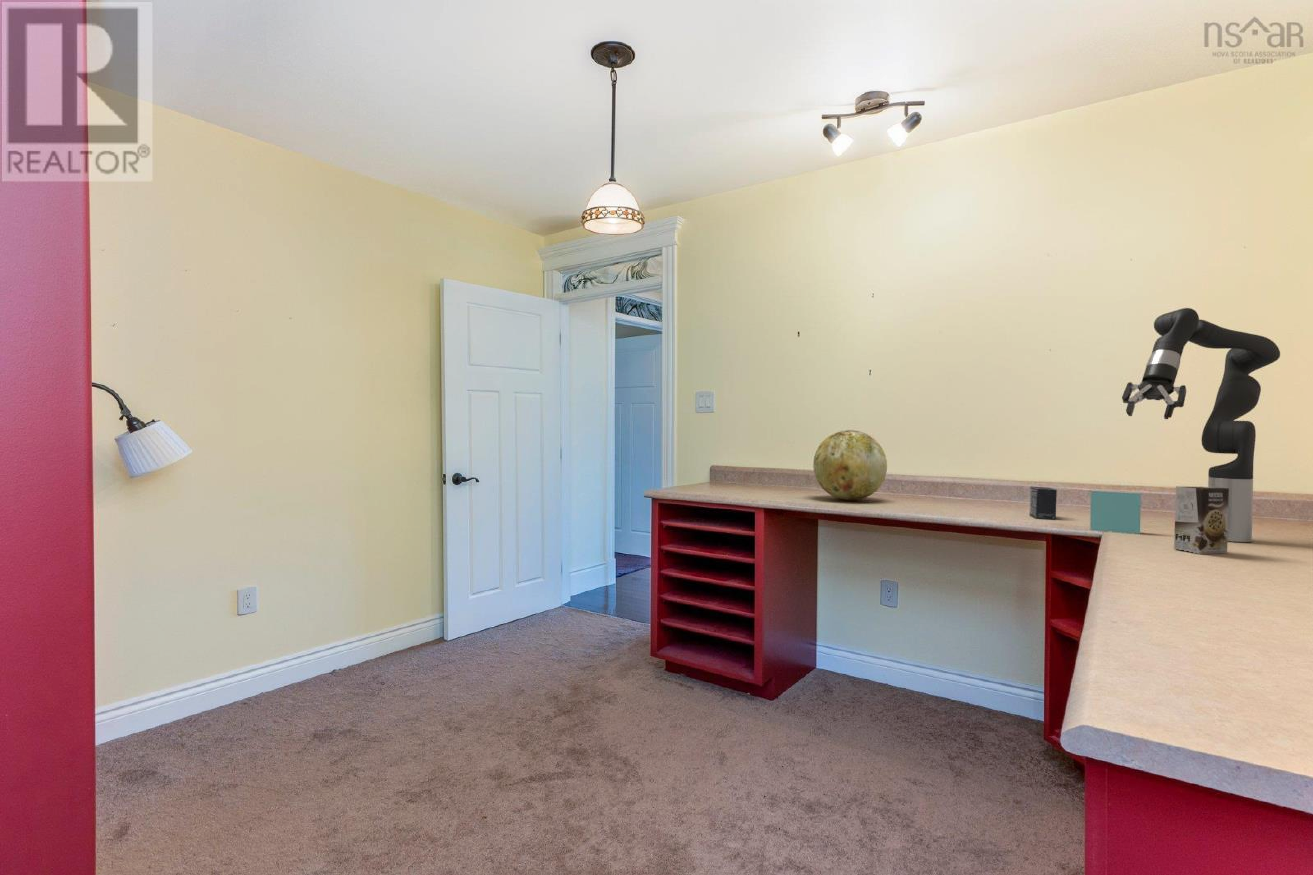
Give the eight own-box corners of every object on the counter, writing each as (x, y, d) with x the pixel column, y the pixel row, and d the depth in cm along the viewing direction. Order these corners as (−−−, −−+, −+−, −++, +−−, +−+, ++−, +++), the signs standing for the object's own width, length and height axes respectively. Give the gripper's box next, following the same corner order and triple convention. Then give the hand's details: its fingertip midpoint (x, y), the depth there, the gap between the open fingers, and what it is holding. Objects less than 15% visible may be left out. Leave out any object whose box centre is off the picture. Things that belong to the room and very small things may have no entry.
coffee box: (1200, 554, 151) (1201, 488, 151) (1172, 549, 157) (1174, 485, 157) (1229, 553, 153) (1230, 487, 153) (1200, 548, 159) (1202, 485, 159)
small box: (1057, 520, 212) (1058, 489, 212) (1035, 519, 214) (1036, 488, 214) (1049, 516, 222) (1050, 487, 221) (1028, 515, 224) (1029, 486, 224)
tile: (1090, 528, 193) (1091, 489, 193) (1139, 532, 185) (1140, 492, 185) (1090, 530, 189) (1090, 490, 189) (1140, 534, 182) (1140, 493, 182)
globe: (800, 500, 265) (801, 429, 264) (831, 495, 287) (832, 430, 287) (869, 506, 245) (870, 430, 245) (897, 500, 267) (898, 431, 267)
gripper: (1194, 377, 181) (1179, 425, 178) (1134, 374, 192) (1120, 419, 189) (1191, 363, 177) (1176, 412, 173) (1130, 361, 188) (1115, 407, 184)
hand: (1147, 416), depth 181 cm, fingers open, 8 cm apart
